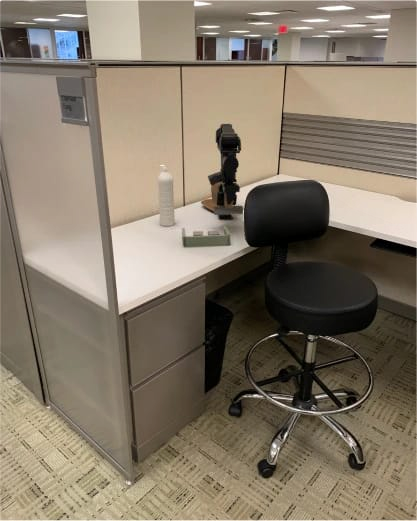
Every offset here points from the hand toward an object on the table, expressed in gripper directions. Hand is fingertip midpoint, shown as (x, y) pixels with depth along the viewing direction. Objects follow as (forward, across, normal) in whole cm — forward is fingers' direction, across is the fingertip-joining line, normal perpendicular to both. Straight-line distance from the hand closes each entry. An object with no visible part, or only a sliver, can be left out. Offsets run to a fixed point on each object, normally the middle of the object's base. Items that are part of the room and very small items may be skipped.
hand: (228, 203), depth 172 cm
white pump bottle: (+11, -9, -26) cm, 30 cm away
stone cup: (+11, -27, -1) cm, 29 cm away
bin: (+11, +14, -11) cm, 21 cm away
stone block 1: (+11, +15, -14) cm, 23 cm away
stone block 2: (+11, +15, -8) cm, 20 cm away
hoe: (+4, 0, 0) cm, 5 cm away
